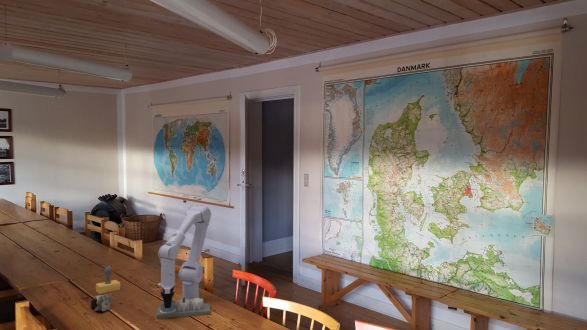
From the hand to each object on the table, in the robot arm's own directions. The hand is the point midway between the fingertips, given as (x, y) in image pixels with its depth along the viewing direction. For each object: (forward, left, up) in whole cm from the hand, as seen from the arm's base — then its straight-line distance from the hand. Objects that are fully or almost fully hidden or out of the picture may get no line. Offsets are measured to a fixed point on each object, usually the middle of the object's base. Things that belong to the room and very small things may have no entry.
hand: (167, 304), depth 182 cm
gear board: (0, +7, -4) cm, 8 cm away
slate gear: (0, 0, -2) cm, 2 cm away
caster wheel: (-12, -29, -4) cm, 32 cm away
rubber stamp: (-36, -29, -4) cm, 47 cm away
